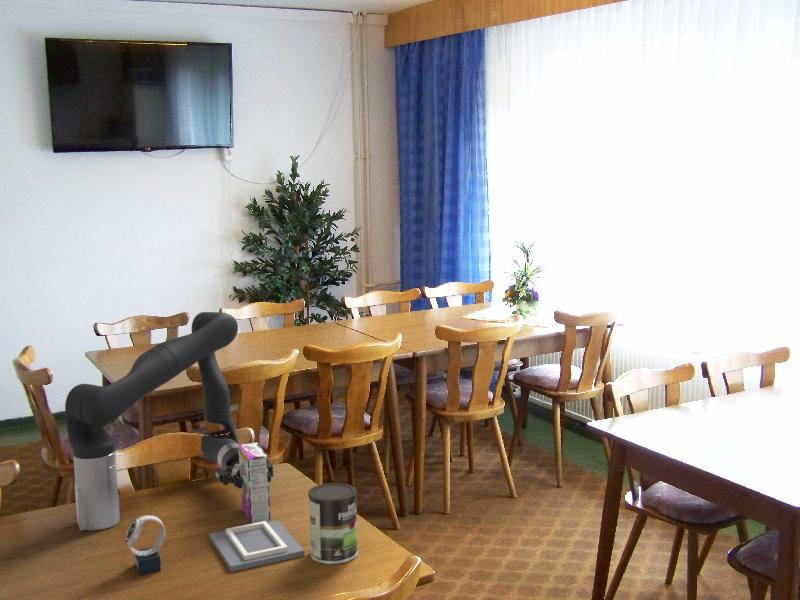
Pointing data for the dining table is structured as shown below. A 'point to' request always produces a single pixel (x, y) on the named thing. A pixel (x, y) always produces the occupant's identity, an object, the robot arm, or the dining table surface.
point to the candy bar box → (254, 482)
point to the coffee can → (333, 523)
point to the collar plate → (255, 545)
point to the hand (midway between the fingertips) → (254, 482)
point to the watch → (147, 557)
